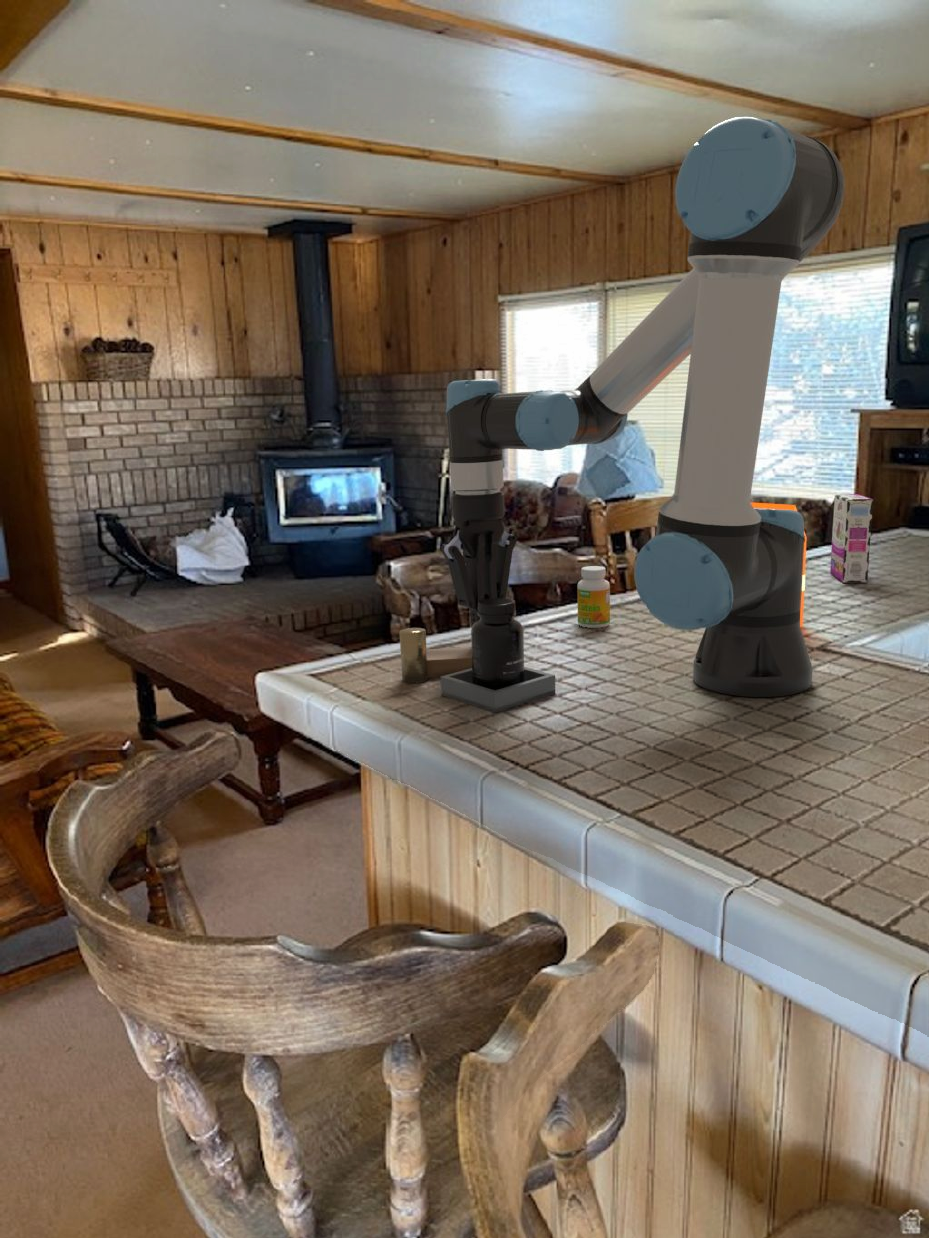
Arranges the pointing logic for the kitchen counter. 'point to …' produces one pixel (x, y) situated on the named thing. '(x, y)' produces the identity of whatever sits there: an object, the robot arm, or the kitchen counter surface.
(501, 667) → the supplement bottle
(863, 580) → the candy bar box
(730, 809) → the kitchen counter surface
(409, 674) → the cylinder
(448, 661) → the tan cardboard box
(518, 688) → the tray
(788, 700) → the kitchen counter surface
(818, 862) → the kitchen counter surface
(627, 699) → the kitchen counter surface
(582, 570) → the supplement bottle
